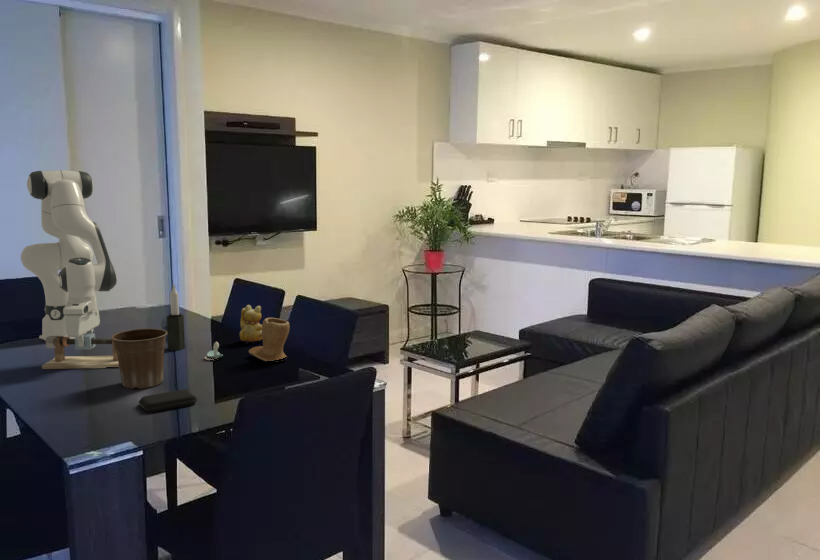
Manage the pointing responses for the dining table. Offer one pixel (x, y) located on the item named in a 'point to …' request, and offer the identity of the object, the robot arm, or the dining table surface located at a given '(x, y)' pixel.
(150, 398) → the carrying case or bag
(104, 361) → the cord stand
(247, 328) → the decorative figurine
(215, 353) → the pacifier
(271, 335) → the brown clay boot vase
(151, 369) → the plant pot
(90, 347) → the marker sleeve
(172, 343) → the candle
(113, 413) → the dining table surface
